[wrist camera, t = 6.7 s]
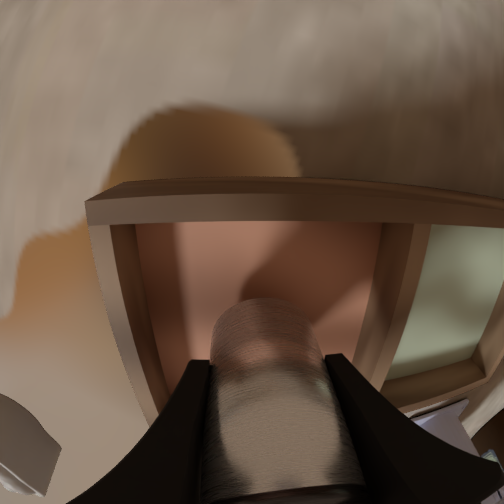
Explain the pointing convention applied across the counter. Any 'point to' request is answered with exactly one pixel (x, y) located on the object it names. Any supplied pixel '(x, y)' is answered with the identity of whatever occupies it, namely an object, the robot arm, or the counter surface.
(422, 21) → the counter surface
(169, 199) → the sorting tray
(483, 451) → the olive oil
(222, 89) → the counter surface
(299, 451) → the cell
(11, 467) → the lumpy-topped squat cylinder
